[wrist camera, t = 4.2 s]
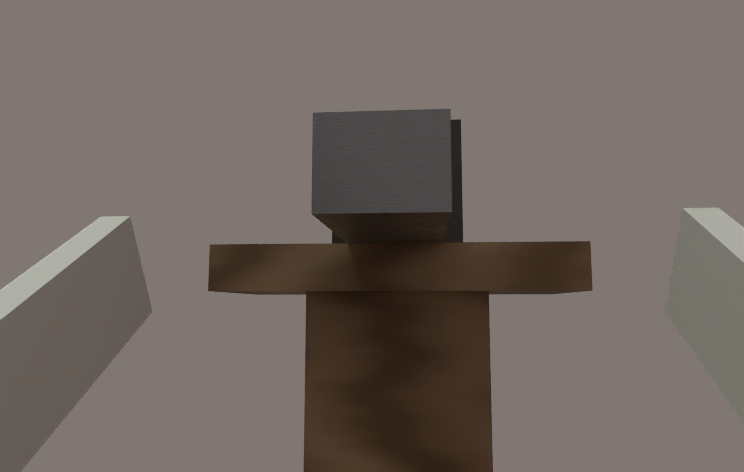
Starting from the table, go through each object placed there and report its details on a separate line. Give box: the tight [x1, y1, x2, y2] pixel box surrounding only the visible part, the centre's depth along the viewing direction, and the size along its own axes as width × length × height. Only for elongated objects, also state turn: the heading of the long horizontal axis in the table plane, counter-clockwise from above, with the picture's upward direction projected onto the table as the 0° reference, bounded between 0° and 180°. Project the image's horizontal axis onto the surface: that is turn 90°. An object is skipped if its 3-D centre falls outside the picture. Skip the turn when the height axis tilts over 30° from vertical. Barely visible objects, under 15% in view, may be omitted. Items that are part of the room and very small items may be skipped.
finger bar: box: [312, 109, 463, 244], centre depth 24 cm, size 6×15×6 cm, turn 175°
